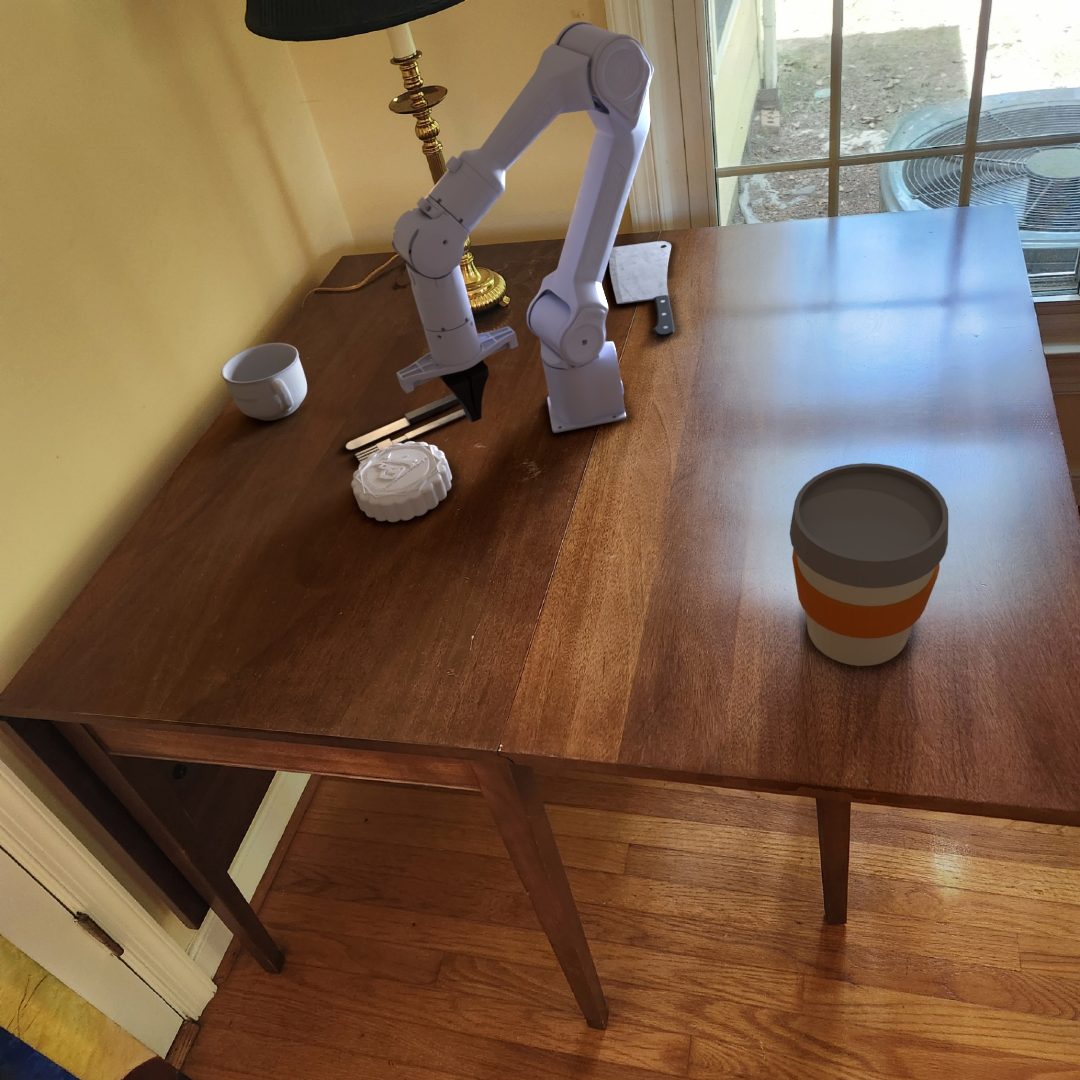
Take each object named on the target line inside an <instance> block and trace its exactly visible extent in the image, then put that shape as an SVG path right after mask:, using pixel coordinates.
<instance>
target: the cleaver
mask: <svg viewBox="0 0 1080 1080" xmlns="http://www.w3.org/2000/svg"><path fill="white" fill-rule="evenodd" d="M671 249H672V244H671V243H670V242H667V241H665V240H658V241H650V242H643V243H642V242H641V243H635V244H628V245H621V246H620V245H619V246H613V247H612V251H611V254H610V257H609V260H608V263H609V274H610V278H611V279H610V281H611V285H612V289H613V293H614V297H615V301H616V304H617V305H618V304H619V305H624V304H631V303H639V302H640V303H641V302H647V301H654V306H655V312H656V325H655V327H654V328H652V332H653V333H654V334H655V335H656V336H657V337H659V338H667V337H670V336H671V335H673V334H674V332H675V330H676V329H675V323H674V317H673V311H672V307H671V301H670V300H671V299H670V296H669V291H668V289H669V288H668V266H669V261H670V260H669V259H670V254H671Z"/></svg>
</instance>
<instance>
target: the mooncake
mask: <svg viewBox="0 0 1080 1080" xmlns="http://www.w3.org/2000/svg"><path fill="white" fill-rule="evenodd" d="M352 478H353V479H352V481H351V483H350V486H351V488H352V490H353V495H354V498H355V500H356V502H357V505H358V507H359V510H361V512H363V513H365V515H366V516H367V517H368V518H371V519H372V518H373V519H375V520H376V521H379V522H385V521H387V522H389V523H397V522H399V521H410V520H412V519H413V518H414V517H422V516H423V515H425V514H426V513H427V512H428V511H430V510H433V509H435V508H436V507H437V506H438V505H439V502H441V501H443V500H445V499H446V498H447V492H449V491H450V490H451V489H452V482H451V481H452V479H453V475H452V472H451V469H450V466H449V462H448V459H447V458H446V456H445V452H444V451H442V450H440V449H439V448H438V446H436V445H434V444H428V443H427V442H426V441H425V442H424V441H417V442H415V441H412V440H410V441H406V442H404V443H396V444H394V445H390V446H389V447H385V448H382V449H380V450H378V451H377V452H376V453H374V454H371V455H370V456H369V457H368V458H367V460H366V461H364V462H362V463H361V464H360V463H359V465H358V467H357V469H356V470H355V471H354V472H353V473H352Z"/></svg>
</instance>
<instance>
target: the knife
mask: <svg viewBox="0 0 1080 1080" xmlns="http://www.w3.org/2000/svg"><path fill="white" fill-rule="evenodd" d="M459 404H460V403H459V401H458V399H457V398H456V396H455V395H454V394H453V393H451V394H448V395H446V396H443V397H441V398H439V399H437V400H435V401H433V402H430V403H427V404H425V405H423V406H421V407H418V408H416V409H414V410H412V411H409V412H407V413H405V414H404V417H403V418H401V419H399V420H396V421H394V422H392V423H389V424H387V425H385V426H382V427H380V428H377V429H375V430H372V431H371V432H369V433H365V434H363V435H362V436H359V437H357V438H355V439H353V440H350V441H349V442H347V443H346V444H345V448H346V450H347V451H350V452H352V451H356V450H359V449H361V448H364V447H365V446H367V445H370V444H372V443H375V442H377V441H379V440H381V439H383V438H386V437H389V436H390V435H393V434H396V433H397V432H400V431H402V430H404V429H407V428H408V427H411V425H413V424H415V423H417V422H420V421H422V420H425V419H427V418H429V417H432V416H434V415H437V414H439V413H441V412H443V411H446V410H448V409H450V408H452V407H454V406H457V405H459Z"/></svg>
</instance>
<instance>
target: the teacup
mask: <svg viewBox="0 0 1080 1080" xmlns="http://www.w3.org/2000/svg"><path fill="white" fill-rule="evenodd" d="M299 355H300V354H299V351H298V350H297V348H296V347H295V346H294V345H291V344H288V343H284V342H283V343H282V342H272V343H271V342H270V343H263V344H260V345H256V346H252V347H249V348H246V349H244V350H242V351H240V352H238V353H236V354H234V355H233V356H232V357H230V358H229V359H228V360H227V361H226V362H225V363H224V364H223V366H222V367H221V371H220V375H221V377H222V379H223V380H224V382H225V384H226V387H227V390H228V391H229V393H230V396H231V398H232V400H233V402H234V403H235V405H236V407H237V408H238V409H239V411H241V413H243V414H244V415H246V416H248V417H250V418H253V419H257V420H260V421H275V420H279V419H280V420H281V419H283V418H285V417H287V416H290V415H291V414H293V413H294V412H295V411H296V410H297V409H298V408H299V407H300V406H301V404H302V402H303V401H304V400H305V398H306V396H307V393H308V384H307V383H308V382H307V379H306V375H305V372H304V369H303V365H302V363H301V360H300V357H299Z"/></svg>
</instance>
